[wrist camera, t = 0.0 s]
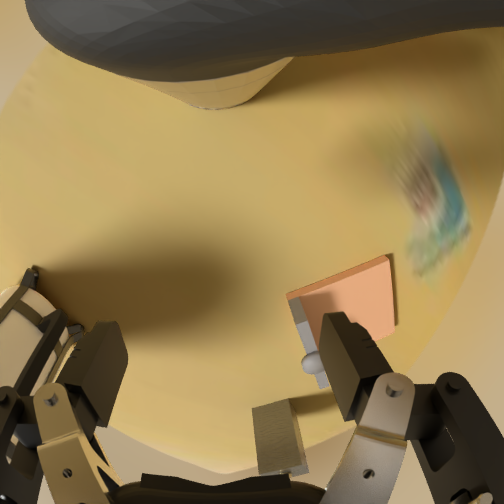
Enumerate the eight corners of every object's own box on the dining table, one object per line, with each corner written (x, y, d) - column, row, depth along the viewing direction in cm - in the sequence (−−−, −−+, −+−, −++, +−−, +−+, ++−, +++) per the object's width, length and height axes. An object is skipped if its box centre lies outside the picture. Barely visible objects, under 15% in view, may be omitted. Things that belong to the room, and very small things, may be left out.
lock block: (251, 408, 40) (259, 477, 29) (288, 398, 40) (302, 468, 28) (262, 421, 42) (270, 484, 31) (295, 411, 42) (309, 476, 31)
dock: (277, 296, 31) (288, 333, 25) (384, 254, 30) (411, 282, 24) (304, 362, 36) (314, 396, 31) (390, 326, 35) (410, 356, 29)
